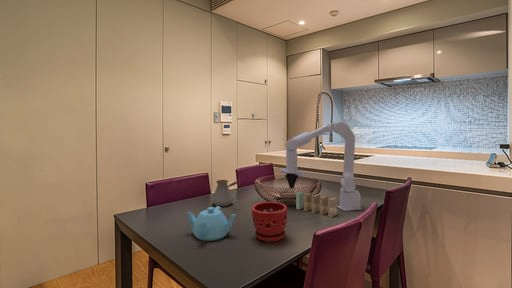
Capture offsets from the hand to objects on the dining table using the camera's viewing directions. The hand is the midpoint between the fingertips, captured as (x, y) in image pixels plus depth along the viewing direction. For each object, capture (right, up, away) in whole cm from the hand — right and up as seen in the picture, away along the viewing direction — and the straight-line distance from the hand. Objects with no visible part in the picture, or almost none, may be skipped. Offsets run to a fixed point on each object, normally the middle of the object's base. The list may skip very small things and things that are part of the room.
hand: (291, 188), depth 148 cm
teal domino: (+4, -10, -3) cm, 11 cm away
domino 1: (+7, -10, -6) cm, 14 cm away
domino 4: (+17, -10, -16) cm, 25 cm away
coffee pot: (-33, -10, +1) cm, 35 cm away
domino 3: (+14, -10, -13) cm, 21 cm away
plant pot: (-13, -13, -40) cm, 44 cm away
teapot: (-36, -13, -37) cm, 53 cm away
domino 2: (+10, -10, -9) cm, 17 cm away
